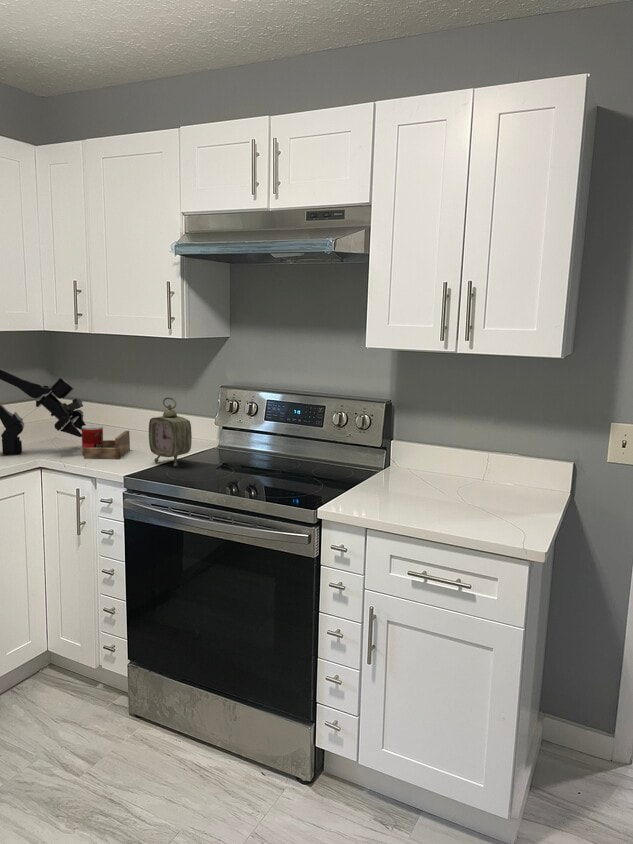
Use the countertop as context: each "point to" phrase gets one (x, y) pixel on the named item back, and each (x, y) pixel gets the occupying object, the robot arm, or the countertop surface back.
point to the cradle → (110, 448)
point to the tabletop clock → (169, 434)
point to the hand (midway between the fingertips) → (85, 434)
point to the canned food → (92, 436)
